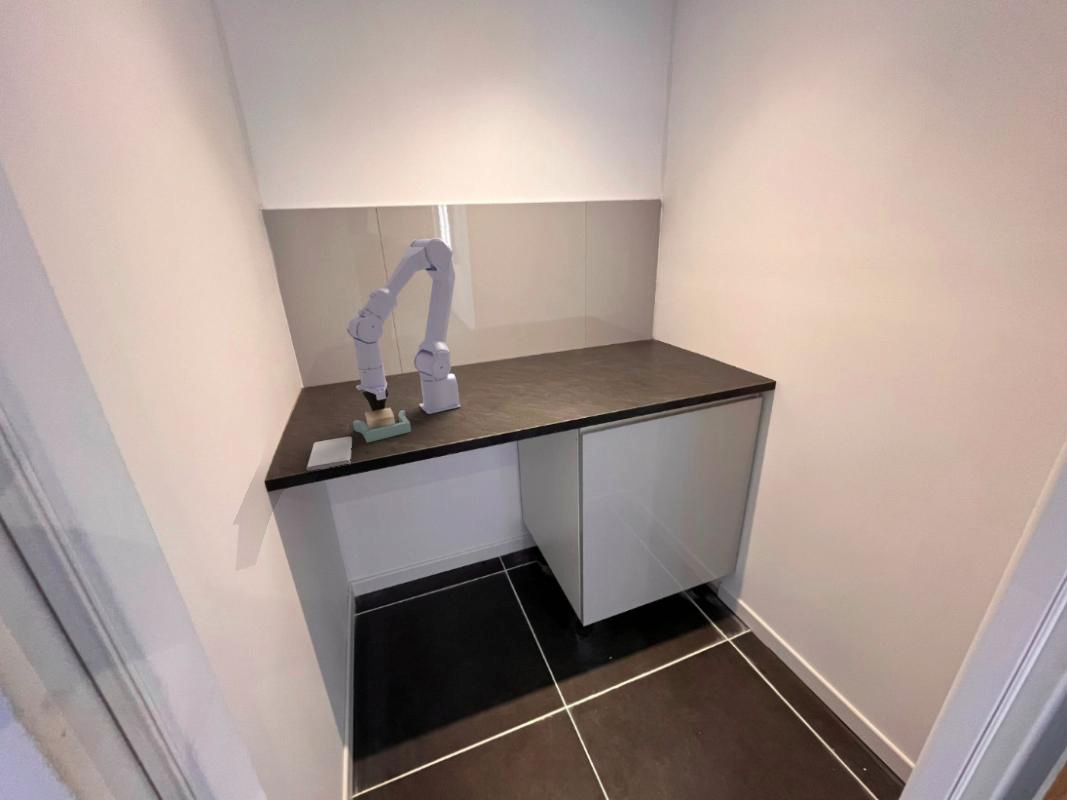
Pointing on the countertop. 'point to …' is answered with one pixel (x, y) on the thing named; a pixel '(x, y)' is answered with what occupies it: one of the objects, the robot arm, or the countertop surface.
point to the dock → (383, 429)
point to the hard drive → (330, 453)
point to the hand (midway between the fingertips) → (379, 417)
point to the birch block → (379, 418)
